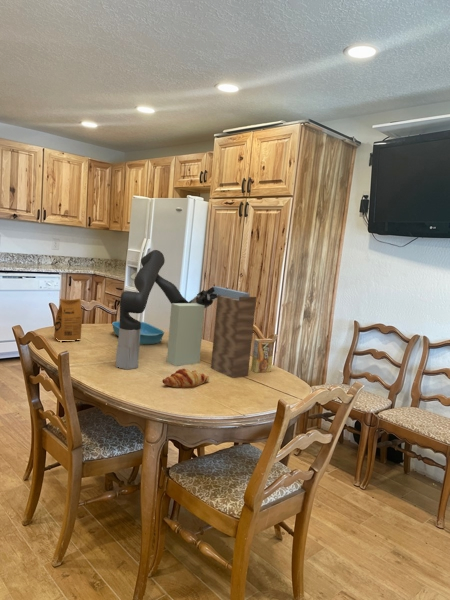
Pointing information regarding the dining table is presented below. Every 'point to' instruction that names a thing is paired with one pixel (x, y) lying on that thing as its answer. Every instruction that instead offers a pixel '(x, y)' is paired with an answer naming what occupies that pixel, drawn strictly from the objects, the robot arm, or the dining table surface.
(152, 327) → the casserole dish
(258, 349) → the candy box
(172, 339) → the step
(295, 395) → the dining table surface
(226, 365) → the post
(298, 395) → the dining table surface
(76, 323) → the coffee package
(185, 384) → the croissant
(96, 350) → the dining table surface
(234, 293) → the rail
